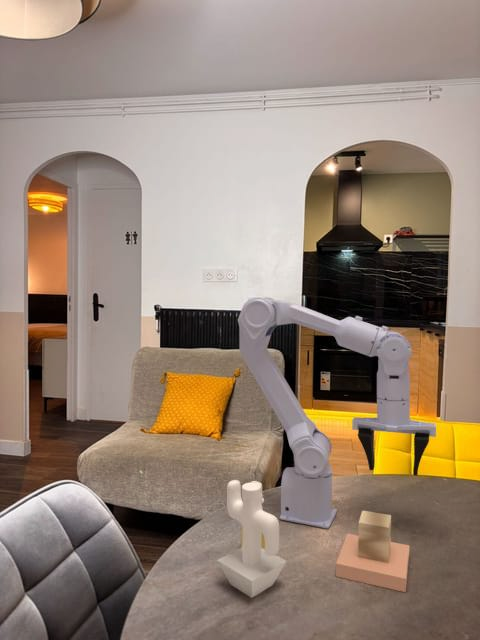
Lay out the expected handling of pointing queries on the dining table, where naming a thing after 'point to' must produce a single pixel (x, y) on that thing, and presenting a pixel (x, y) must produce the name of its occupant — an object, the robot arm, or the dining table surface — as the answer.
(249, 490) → the figurine
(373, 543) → the beech block
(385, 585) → the riser
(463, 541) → the dining table surface
